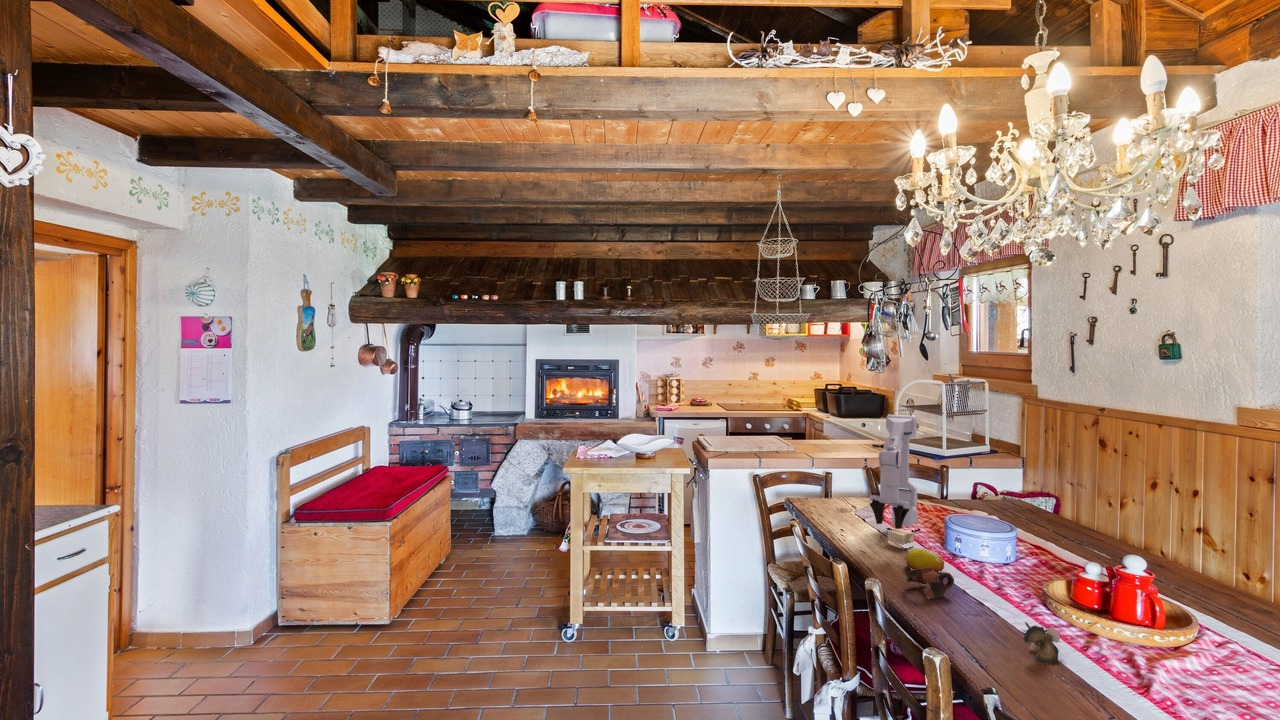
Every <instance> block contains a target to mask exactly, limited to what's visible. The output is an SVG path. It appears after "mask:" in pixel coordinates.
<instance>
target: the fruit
mask: <svg viewBox="0 0 1280 720" xmlns="http://www.w3.org/2000/svg"><path fill="white" fill-rule="evenodd" d="M905 563H906V565H908V566H909V567H910V568H912V569H914V570H915V569H921V568H926V567H933V570H934V571H935V572H936V573H938V572H939V571H941V572H942V571H943V570H944V568H945V561H944V559H943V557H942V555H940V554H939V553H938V552H936V551H934V550H930V549H927V548H922V547H919V548H916V547H915V548H912V549H910V550H909V551H908V552H907V554H906V557H905ZM908 566H907V567H908Z"/></svg>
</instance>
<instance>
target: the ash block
mask: <svg viewBox="0 0 1280 720" xmlns="http://www.w3.org/2000/svg"><path fill="white" fill-rule="evenodd" d="M888 541H891V542H894V543H898V544H901V545H904V544H907V543H911V542H914V543H915V531H913V532H910V531H907V530H903V529H893V530H891V529H888V530H887V542H888Z"/></svg>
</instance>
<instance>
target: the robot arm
mask: <svg viewBox="0 0 1280 720" xmlns="http://www.w3.org/2000/svg"><path fill="white" fill-rule="evenodd" d="M885 427H886V430H887V432H888V433H889V437H887V438H886V439H885V441H884V445H883V448H882V450H879V453H878V464H879V465H878V466H879V472H880V476H879V477H880V483H879V488H880V491H879V492H880V494H879V495H875V494H871V495H869V501H870V502H869V506H870V507H871V509H872V512H873V515H874V518H875V523H876V524H877V525H881V524H883V520H884V511H885V506H886V505H889V506H891V524H892V523H893V524H895V528H896V529H901V527H902V526H912V525H913V524H916V523H918V524H919V512H918V509H917V508H916V506H917V505H918V504H917V503H918V490H917V489H918V488H917V485H915V484H914V483H913V482H912V481H911V480H910V479H909V478H910V443H911V442H910V441H911V438H915V437H916V434H917V417H916V416H915V415H913V414H912V415H903V414H890V413H888V414H887V416H886V419H885Z"/></svg>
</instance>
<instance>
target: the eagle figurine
mask: <svg viewBox="0 0 1280 720" xmlns="http://www.w3.org/2000/svg"><path fill="white" fill-rule="evenodd" d="M1024 623H1025V626H1026V627H1027V630H1026V631H1025V633H1024V636H1023V641H1024V643H1031V644H1030V645H1029V649H1028V651H1033V650H1035V649H1037V648H1038V647H1039V649H1038V651H1037V653H1036V654H1035V655H1034V657H1033V659H1034V660H1035V661H1037V662H1038V663H1040V664H1044V665H1045V664H1046V665H1049V664H1050V665H1052V664H1055V663H1057V662H1058V660H1059V652H1060V651H1059V648H1058V647H1057V646H1056V644H1054V643H1060V637H1061V635H1060V633H1059V631H1058V630H1057V628H1056V629H1055V628H1054V627H1051V626H1050V627H1048V628H1044V626H1038V625H1032V626H1030V625H1029V623H1028V622H1027V621H1024Z"/></svg>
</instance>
